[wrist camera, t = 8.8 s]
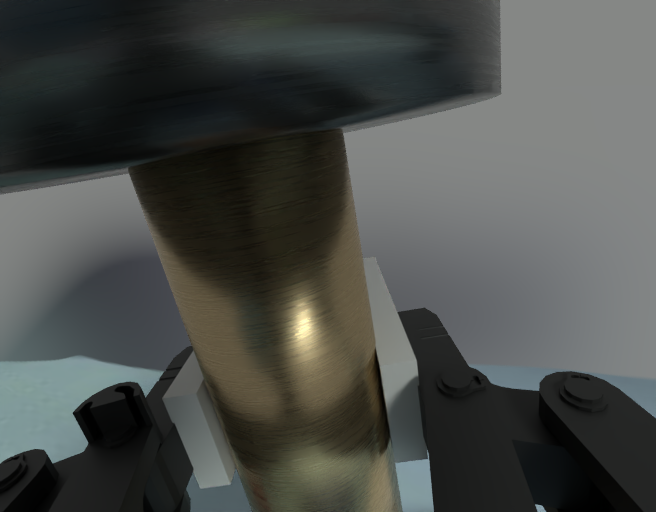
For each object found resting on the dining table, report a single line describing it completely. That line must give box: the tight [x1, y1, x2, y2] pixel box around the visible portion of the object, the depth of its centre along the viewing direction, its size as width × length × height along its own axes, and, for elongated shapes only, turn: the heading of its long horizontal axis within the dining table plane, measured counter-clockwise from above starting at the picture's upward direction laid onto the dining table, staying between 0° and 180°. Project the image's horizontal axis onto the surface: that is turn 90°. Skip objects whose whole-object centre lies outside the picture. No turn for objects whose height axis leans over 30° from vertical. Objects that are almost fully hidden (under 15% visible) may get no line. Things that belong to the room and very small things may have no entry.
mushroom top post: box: [0, 0, 501, 512], centre depth 9 cm, size 9×9×18 cm
